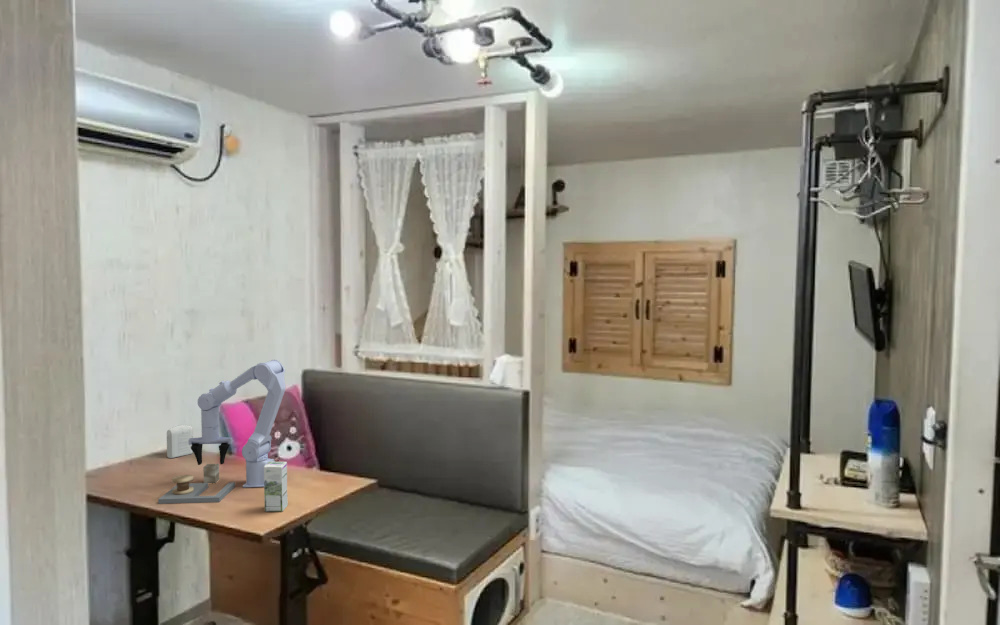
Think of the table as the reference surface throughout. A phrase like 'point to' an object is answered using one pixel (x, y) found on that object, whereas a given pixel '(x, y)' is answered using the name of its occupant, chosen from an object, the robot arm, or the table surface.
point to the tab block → (211, 473)
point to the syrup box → (275, 486)
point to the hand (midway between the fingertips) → (211, 463)
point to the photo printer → (179, 441)
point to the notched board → (196, 494)
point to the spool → (182, 485)
